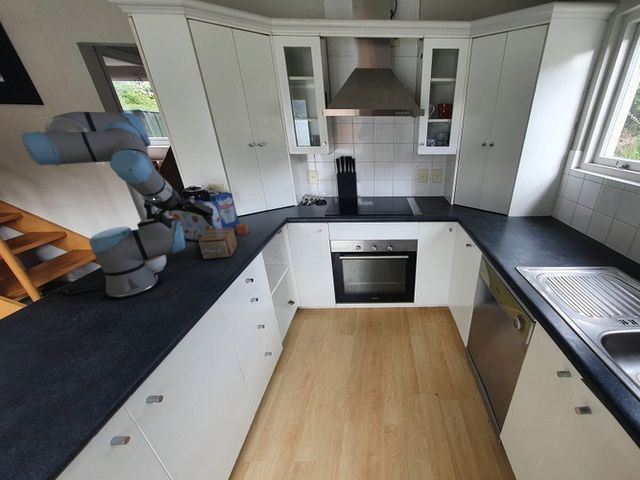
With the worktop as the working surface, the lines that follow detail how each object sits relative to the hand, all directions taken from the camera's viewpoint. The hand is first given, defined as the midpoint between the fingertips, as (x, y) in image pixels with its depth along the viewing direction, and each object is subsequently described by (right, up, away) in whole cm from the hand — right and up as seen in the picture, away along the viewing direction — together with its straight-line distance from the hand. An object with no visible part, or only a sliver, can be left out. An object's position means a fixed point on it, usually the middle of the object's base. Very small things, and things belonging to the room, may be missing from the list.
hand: (191, 223), depth 103 cm
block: (-9, +1, +56) cm, 57 cm away
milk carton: (-23, +6, +66) cm, 70 cm away
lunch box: (-28, -3, +48) cm, 56 cm away
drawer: (-7, -11, +28) cm, 31 cm away
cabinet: (-8, -10, +33) cm, 36 cm away
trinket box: (-27, -19, +16) cm, 36 cm away
